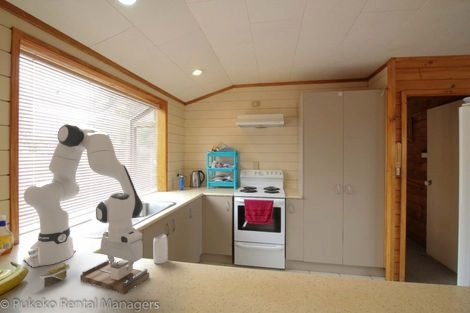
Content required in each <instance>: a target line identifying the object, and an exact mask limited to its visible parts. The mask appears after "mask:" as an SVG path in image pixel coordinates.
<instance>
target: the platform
mask: <svg viewBox="0 0 470 313" xmlns="http://www.w3.org/2000/svg"><path fill="white" fill-rule="evenodd" d="M69 269H71V266H70V264H68V263H65V262H64V263H63V264H62V263H60V264H59V265H55V266H53V267H51V268H48V270H47V271H48V272H46V273H44V274H43V273H42V274H40V276H39V277H40V279H43V283H44V284H43V285H44V286H43V287H44V288H45V286H46V287H47V285H48V286H50V285H52V284H54V283H56V282H58V281H61V280H62V281H64V280H65V279H66V277H67V271H68V270H69Z"/></svg>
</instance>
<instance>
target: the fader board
mask: <svg viewBox="0 0 470 313" xmlns="http://www.w3.org/2000/svg"><path fill="white" fill-rule="evenodd" d="M149 278H150V272H149V271H148V269H147V268H144V269H143V270H139V269H138V268H133V272H131V273H129V274H128V275H126V276H124V277H123V278H121V279H119V280H115V279H112V278H111V266H110V262H109V259H106V260H104V261H101V262H100V263H97V264H95V265H93V266H91V267H89V268H87V269H85V270H83V271H82V274H80V281H82V282H85V283H88V284H92V285H94V286H97V287H100V288H104V289H106V290H110V291H113V292H116V291H117V292H116V293H119V292H120V293H119V294H122V293H123V294H122V295H126V294H128V293H129V292H131V291H132V290H133V289H135V288H136V287H137V286H139V285H140V284H142V283H143V282H145V281H146V280H148V279H149ZM141 282H142V283H141ZM135 286H136V287H135ZM134 287H135V288H134ZM131 289H132V290H131Z"/></svg>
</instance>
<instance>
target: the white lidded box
mask: <svg viewBox="0 0 470 313" xmlns="http://www.w3.org/2000/svg"><path fill="white" fill-rule="evenodd" d="M128 265H129V263H128V260H124V259H120V260H119V261H116V263H115V264H113V265H111V278H112V279H115V280H119V279H121V278H123V277H124V276H126V275H128V274H129V273H131V272H133V269H134V268H133V269H132V270H131V271H128V270H126V269H127V268H126V266H128Z"/></svg>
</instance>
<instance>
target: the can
mask: <svg viewBox="0 0 470 313" xmlns="http://www.w3.org/2000/svg"><path fill="white" fill-rule="evenodd" d="M152 245H153V247H152V251H153V253H152V254H153V256H152V258H153V263H154V264H156V265H161V264H165V263H166V262H168V256H169V255H168V254H169V252H168V251H169V250H168V236H167V235H166V234H164V233H162V234H161V233H160V234H157V235H155V236H154V237H153V241H152Z"/></svg>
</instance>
